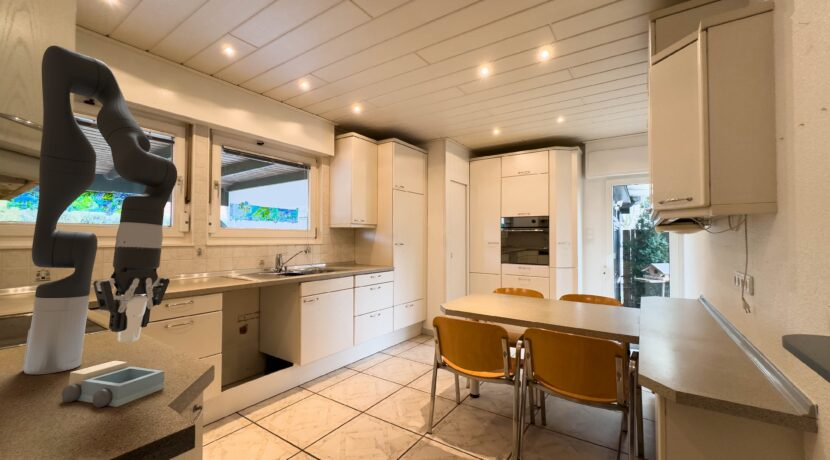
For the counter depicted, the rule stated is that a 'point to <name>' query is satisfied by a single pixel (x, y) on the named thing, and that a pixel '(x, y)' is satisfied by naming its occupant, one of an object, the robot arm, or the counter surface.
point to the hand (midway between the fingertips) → (129, 328)
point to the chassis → (112, 384)
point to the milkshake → (133, 318)
